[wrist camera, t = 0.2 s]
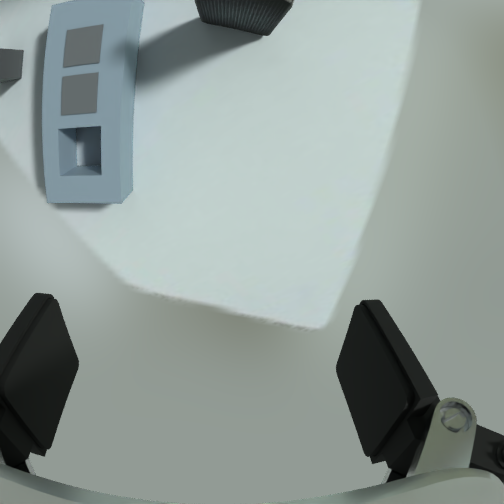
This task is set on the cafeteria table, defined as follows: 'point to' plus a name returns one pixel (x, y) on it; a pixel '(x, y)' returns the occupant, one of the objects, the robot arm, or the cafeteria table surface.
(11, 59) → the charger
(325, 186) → the cafeteria table surface
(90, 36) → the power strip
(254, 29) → the phone
